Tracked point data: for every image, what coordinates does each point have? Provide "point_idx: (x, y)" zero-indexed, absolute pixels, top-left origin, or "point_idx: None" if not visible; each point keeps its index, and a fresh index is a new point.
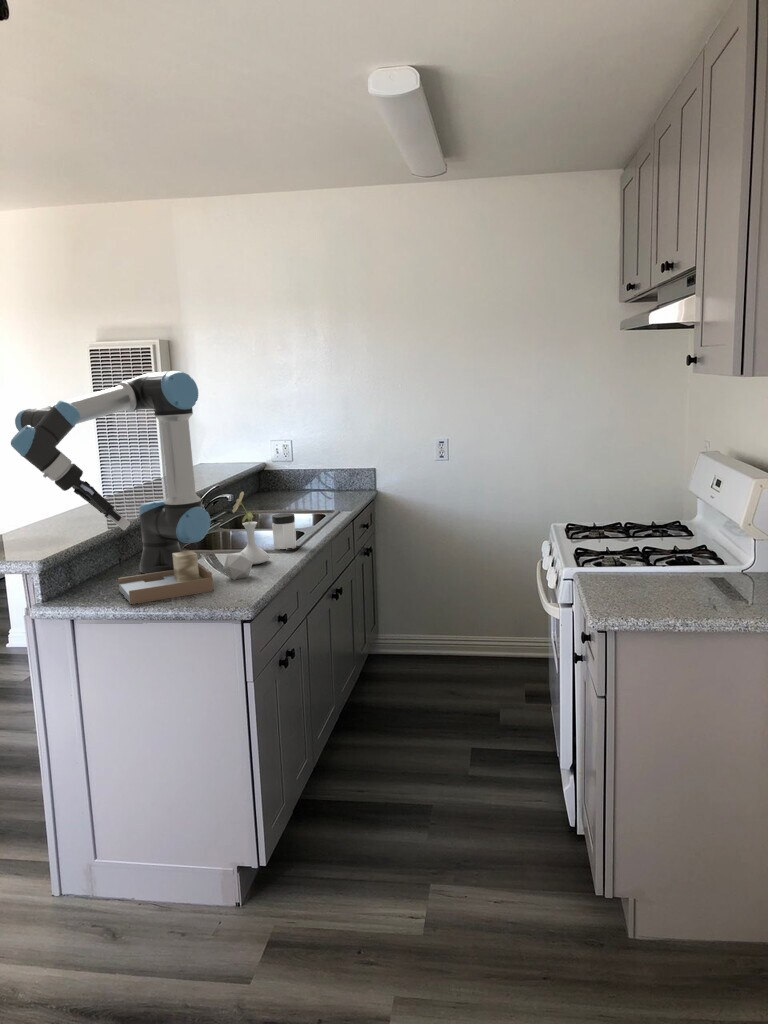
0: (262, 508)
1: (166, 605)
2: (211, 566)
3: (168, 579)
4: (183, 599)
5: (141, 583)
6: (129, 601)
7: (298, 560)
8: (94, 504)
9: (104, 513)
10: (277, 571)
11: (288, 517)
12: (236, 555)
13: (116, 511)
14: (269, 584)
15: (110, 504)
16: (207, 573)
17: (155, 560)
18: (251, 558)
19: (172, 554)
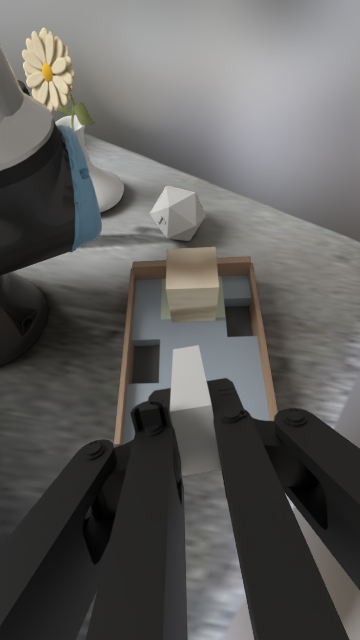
0: None
1: (318, 373)
2: None
3: (167, 333)
4: (284, 335)
5: None
6: None
7: (133, 155)
8: (185, 634)
9: (183, 488)
10: (179, 185)
11: (25, 88)
12: (188, 197)
13: (207, 392)
14: (256, 208)
15: (344, 438)
16: (244, 264)
17: (13, 328)
18: (116, 191)
19: (167, 291)
